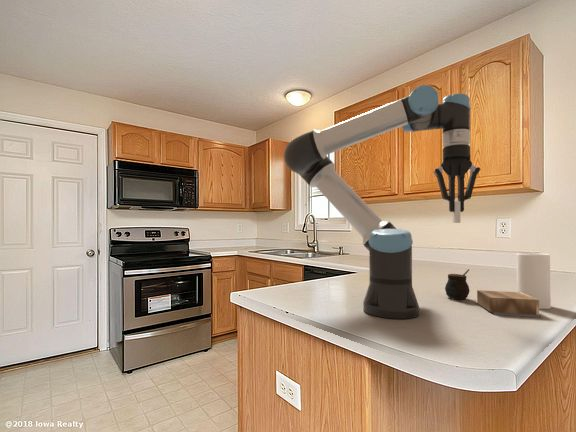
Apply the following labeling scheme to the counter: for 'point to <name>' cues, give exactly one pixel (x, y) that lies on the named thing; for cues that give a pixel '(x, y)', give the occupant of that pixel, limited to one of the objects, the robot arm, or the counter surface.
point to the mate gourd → (457, 286)
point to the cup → (534, 277)
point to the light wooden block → (508, 302)
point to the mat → (516, 314)
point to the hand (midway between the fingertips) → (456, 222)
